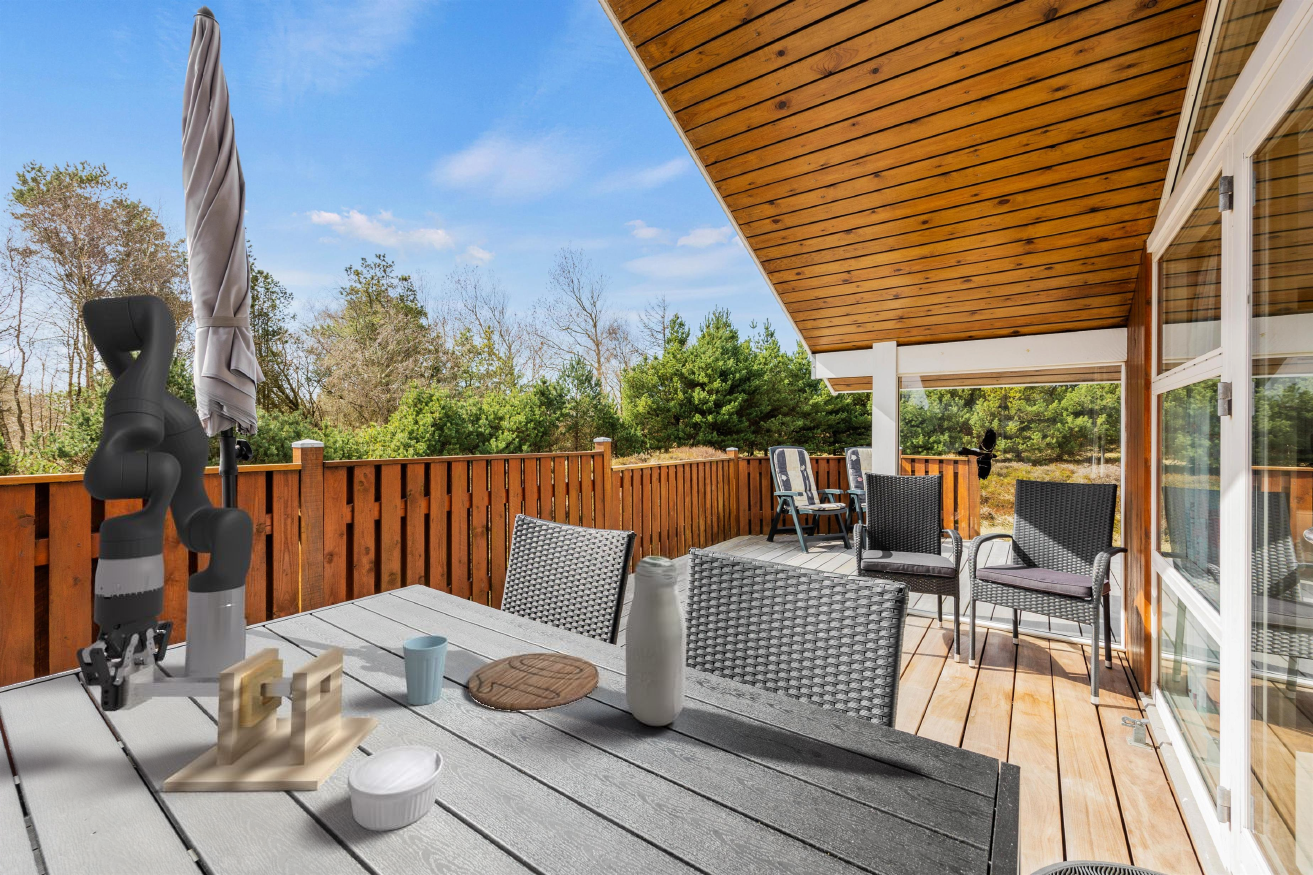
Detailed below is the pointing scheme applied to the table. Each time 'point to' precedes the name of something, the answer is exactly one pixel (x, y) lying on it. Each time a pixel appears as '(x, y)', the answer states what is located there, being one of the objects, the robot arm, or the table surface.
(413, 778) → the ramekin
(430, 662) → the cup
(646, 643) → the glass bottle
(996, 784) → the table surface
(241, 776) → the bracket
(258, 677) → the spacer ring
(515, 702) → the trivet
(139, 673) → the shaft
